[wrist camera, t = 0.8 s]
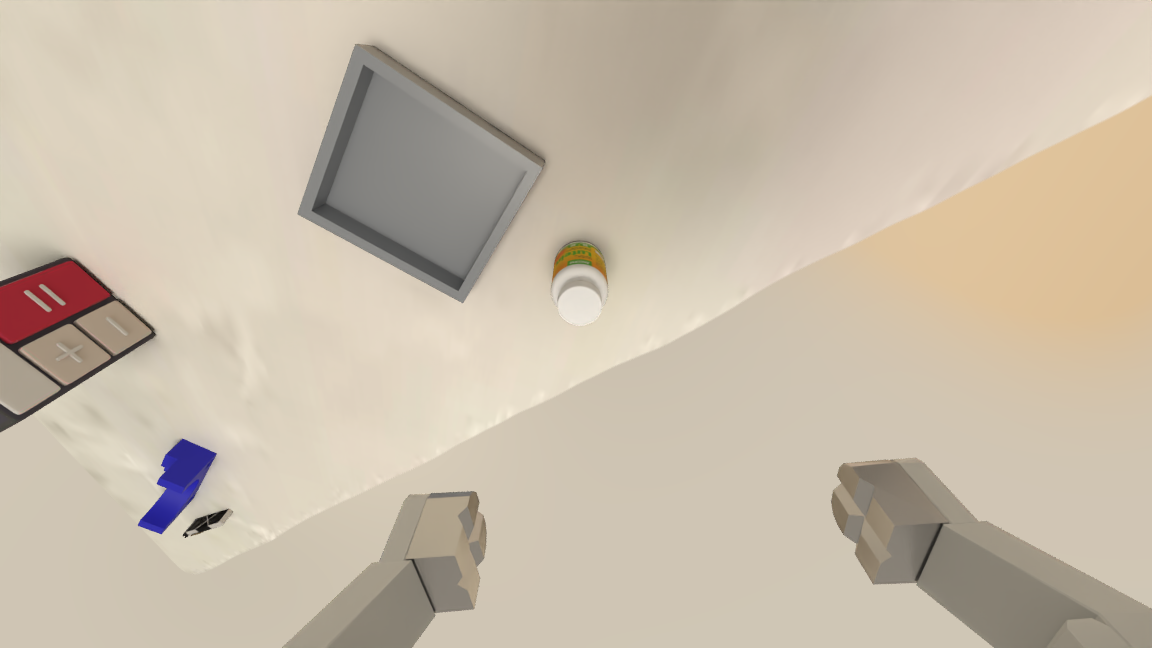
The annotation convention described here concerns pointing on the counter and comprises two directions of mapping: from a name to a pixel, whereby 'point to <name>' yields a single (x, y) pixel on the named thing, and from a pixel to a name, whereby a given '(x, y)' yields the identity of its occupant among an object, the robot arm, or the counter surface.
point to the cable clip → (178, 483)
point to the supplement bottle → (579, 283)
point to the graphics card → (208, 522)
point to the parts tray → (415, 175)
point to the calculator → (57, 336)
